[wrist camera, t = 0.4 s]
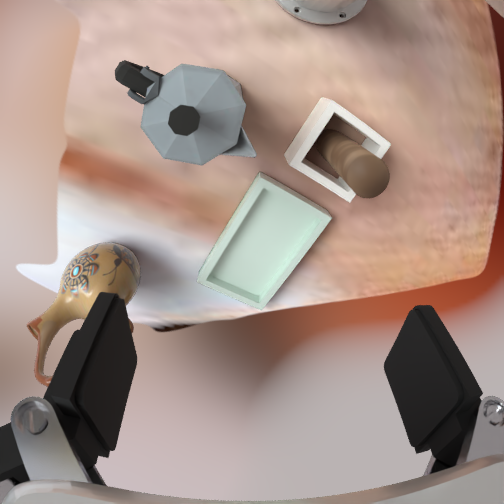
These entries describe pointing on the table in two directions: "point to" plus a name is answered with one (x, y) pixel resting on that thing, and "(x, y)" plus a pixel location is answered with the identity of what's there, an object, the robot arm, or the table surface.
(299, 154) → the white square ring
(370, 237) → the table surface
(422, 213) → the table surface
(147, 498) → the robot arm
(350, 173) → the dowel
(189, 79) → the coffee maker
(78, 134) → the table surface
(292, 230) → the tray
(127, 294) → the ceramic vessel
